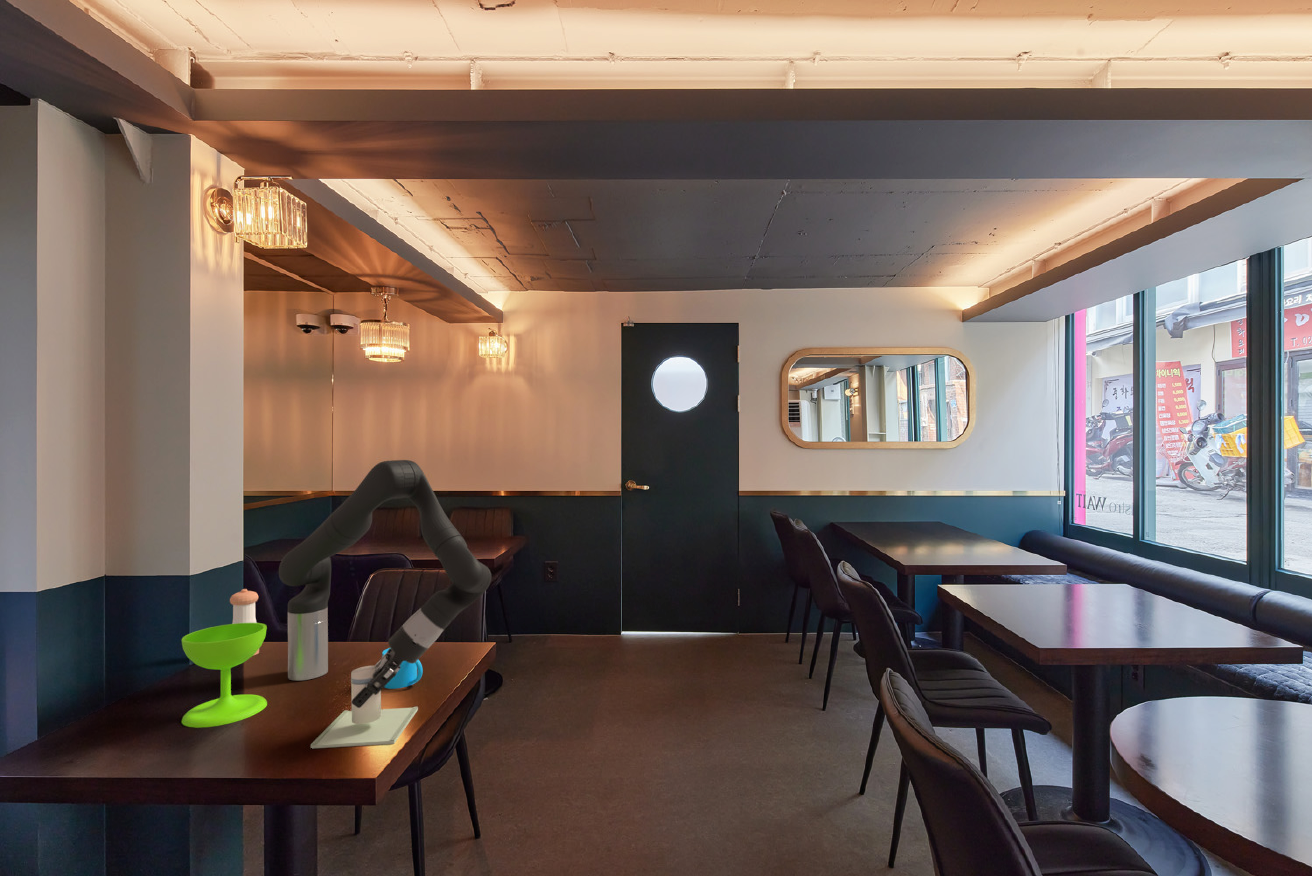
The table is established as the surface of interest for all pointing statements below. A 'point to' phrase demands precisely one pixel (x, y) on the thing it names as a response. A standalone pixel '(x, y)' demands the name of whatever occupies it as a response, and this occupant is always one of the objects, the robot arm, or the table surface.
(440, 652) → the table surface
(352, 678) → the cream domed container
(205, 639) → the wineglass
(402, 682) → the mug
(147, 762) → the table surface
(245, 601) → the salt shaker
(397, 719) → the mat
